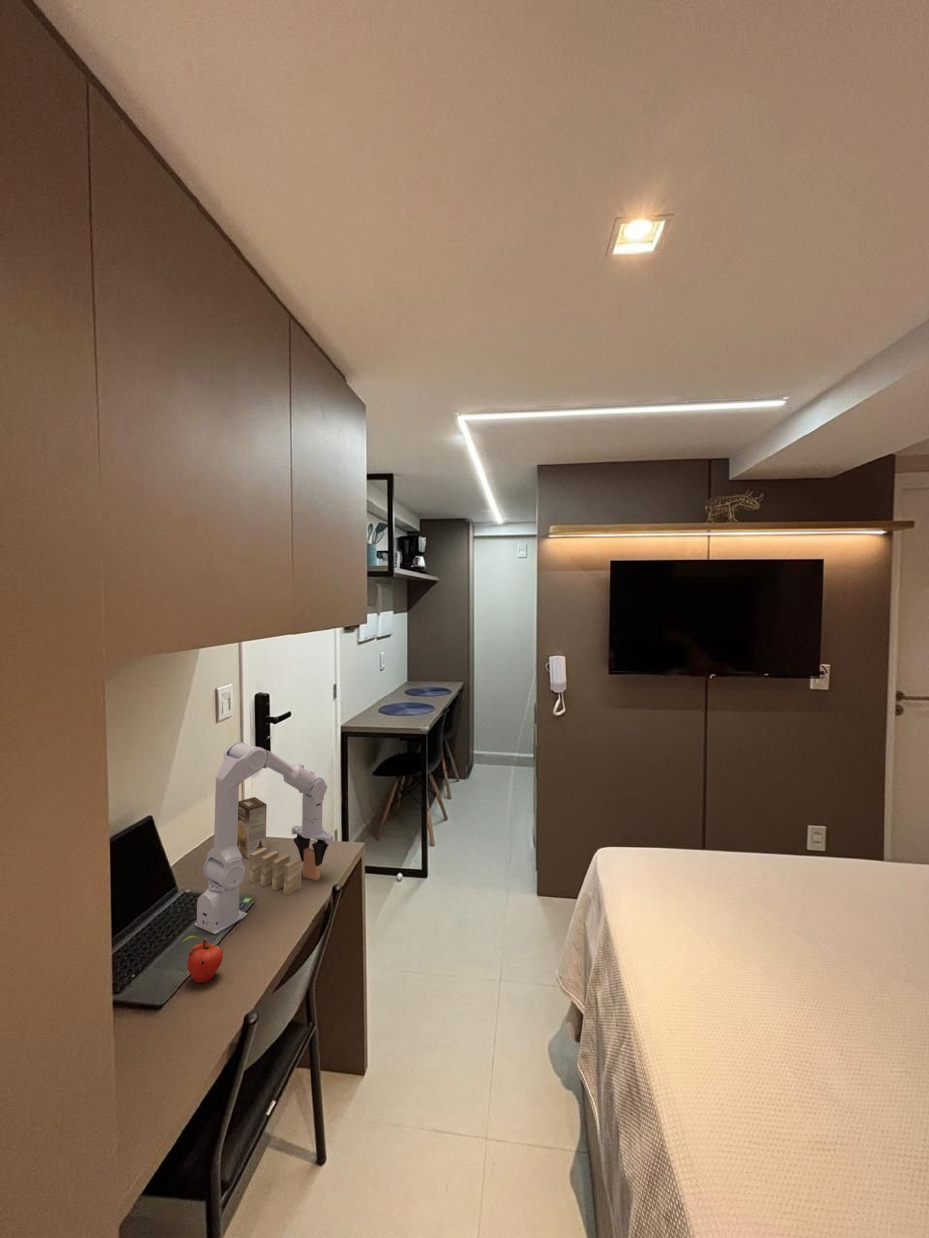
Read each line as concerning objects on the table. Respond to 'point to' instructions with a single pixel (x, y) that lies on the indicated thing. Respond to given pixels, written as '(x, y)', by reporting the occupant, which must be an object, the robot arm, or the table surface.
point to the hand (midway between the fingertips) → (311, 862)
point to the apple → (204, 960)
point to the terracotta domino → (310, 865)
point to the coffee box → (251, 826)
